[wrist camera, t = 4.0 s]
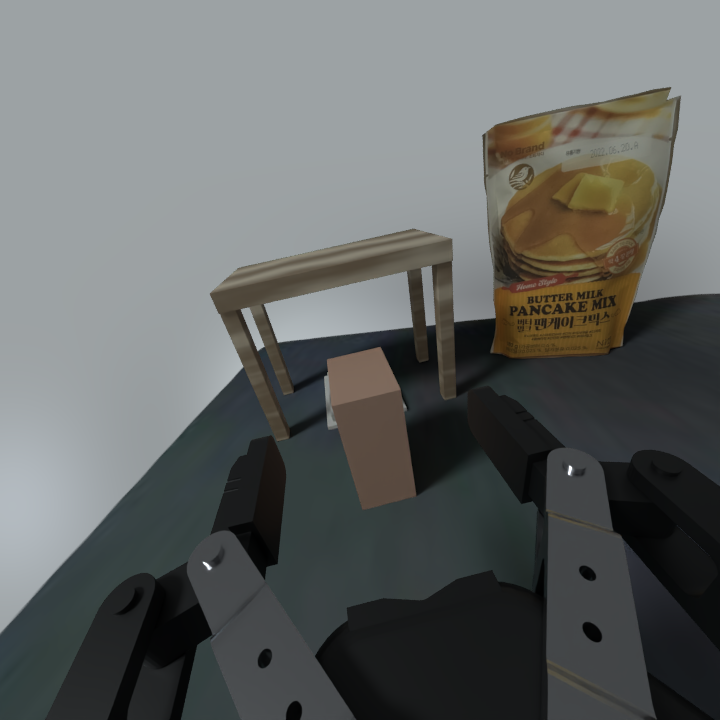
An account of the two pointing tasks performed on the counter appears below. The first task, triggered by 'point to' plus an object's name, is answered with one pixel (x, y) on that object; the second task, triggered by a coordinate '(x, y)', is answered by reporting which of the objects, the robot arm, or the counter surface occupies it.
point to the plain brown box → (372, 426)
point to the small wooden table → (329, 272)
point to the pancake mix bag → (575, 220)
